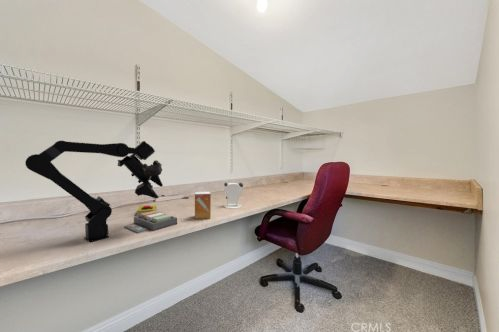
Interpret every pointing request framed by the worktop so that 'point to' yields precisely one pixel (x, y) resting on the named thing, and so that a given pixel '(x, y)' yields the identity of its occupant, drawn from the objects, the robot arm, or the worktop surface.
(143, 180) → the robot arm
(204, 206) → the small box
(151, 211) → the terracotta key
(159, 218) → the sage key
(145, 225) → the keypad housing
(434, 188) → the worktop surface
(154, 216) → the offwhite key
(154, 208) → the emergency button
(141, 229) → the card
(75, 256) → the worktop surface
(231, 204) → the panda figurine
